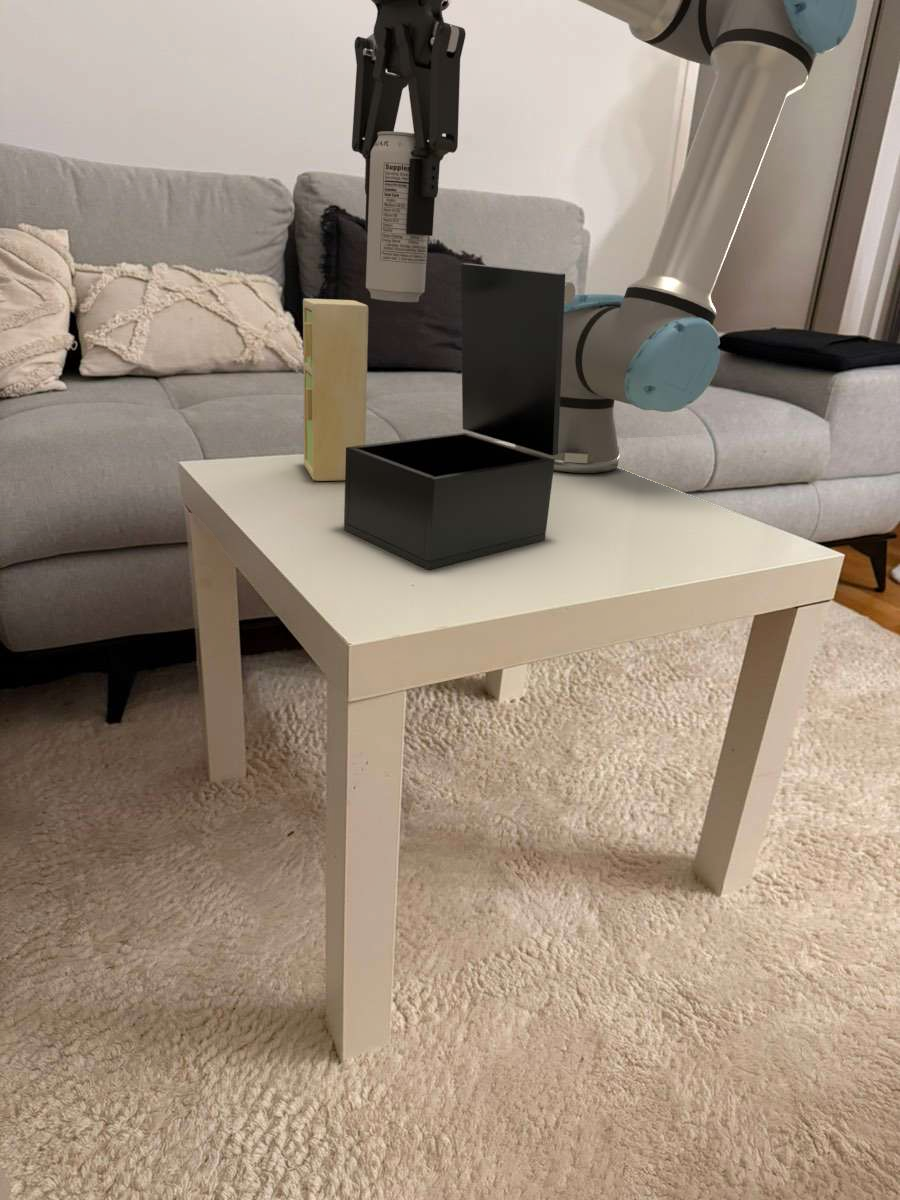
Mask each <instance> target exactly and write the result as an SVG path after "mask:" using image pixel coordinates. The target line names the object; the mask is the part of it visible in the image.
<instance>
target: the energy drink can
mask: <svg viewBox="0 0 900 1200" xmlns="http://www.w3.org/2000/svg"><path fill="white" fill-rule="evenodd" d="M414 149H416V145H415V137H414V132H413V133H412V132H406V131H405V132H404V131H394V132H392V131H382V132H378V139H377V141H376V143H375V145H374V147H373V148H372V150H371V157H370V184H369V212H368V231H367V239H366V241H367V242H366V244H367V245H366V246H367V247H366V270H365V288H366V290H368V292H369V294H370V299H373V300H379V301H387V302H388V301H389V302H398V303H418V302H419V301H420V296H421V295H423V294H424V293H425V290H426V289H425V288H426V273H427V260H428V259H427V258H428V242H429V241H428V240H429V236H426V235H414V234H406V227H407V208H408V188H409V168H410V159H413V158H415V159H420V158H419V157H413V156H412V155H411V153H410V152H411V151H412V150H414Z"/></svg>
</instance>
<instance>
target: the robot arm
mask: <svg viewBox="0 0 900 1200" xmlns="http://www.w3.org/2000/svg"><path fill="white" fill-rule="evenodd" d="M370 1H371V2H372V3H373V4H374V5H375V7H376V10H377V13H376V19H375V23H374V25H373V33H372V34H370V35H368V36H367V37H362V36H356V38H355V39H354V44H353V45H354V55H355V61H356V62H355V63H356V73H355V84H354V85H355V86H354V87H355V88H354V102H353V119H352V136H351V149H352V151H353V152H355V153H359V154H360V155H362V158H364V161H365V168H364V169H365V172H364V193H365V219H364V231H367V232H368V212H369V184H370V157H371V150H372V148H373V147H374V145H375V143H376V141H377V139H378V132H382V131H392V132H395V127H396V122H397V118H398V113H399V108H400V103H401V99H402V94H403V90H404V89H405V88H407V87H408V96H409V103H410V113H411V120H412V128H413V133H414V137H415V145H416V149H414V150H412V151H411V152H410V153H411V155H412V156H413V157H419V158H420V159H415V158H413V159H410V168H409V188H408V208H407V227H406V234H414V235H426V236H428V237H433V235H434V233H433V232H434V219H435V218H434V217H435V204H436V203H435V201H436V198H437V197H438V194H439V183H440V181H439V180H440V168H441V167H440V166H441V161H442V160H443V159H444V157H445V156H446V155H448V154H449V153H452V154H455V152H456V151H457V150H458V146H459V145H458V144H459V116H460V115H459V114H460V111H459V110H460V79H461V57H462V53H463V48H464V45H465V40H466V34H467V33H466V30H465V28H464V27H462V26H459V25H455V24H451V23H448V22H445V20H444V17H443V11H445V10H447V9H448V8H449V7H450V4H451V0H370ZM577 1H579V2H580V3H583V4H585V5H587V6H589V7H591V8H593V9H596V10H597V11H600V12H602V13H605V14H606V15H609V16H611V17H613V18H615V19H617V20H619V21H622V22H624V23H626V24H627V25H628V29H629V31H630V34H631V35H632V36H633V37H634V38H635V39H637V40H639V41H641V42H643V43H646V44H647V45H649V46H652V47H654V48H656V49H659V50H661V51H664V52H665V53H669V54H671V55H672V56H675V57H679V58H681V59H683V60H686V61H689V62H692V63H696V64H699V65H705V66H710V67H712V69H713V72H714V73H715V79H714V82H713V85H712V88H711V91H710V94H709V95H708V96H709V97H708V98H707V101H706V105H705V107H704V110H703V113H702V115H701V118H700V121H699V123H698V126H697V129H696V133H695V135H694V138H693V141H692V143H691V146H690V149H689V152H688V155H687V157H686V160H685V162H684V165H683V168H682V171H681V174H680V177H679V179H678V182H677V184H676V186H675V190H674V193H673V195H672V199H671V201H670V204H669V206H668V210H667V212H666V215H665V218H664V221H663V224H662V226H661V229H660V231H659V234H658V237H657V240H656V242H655V245H654V248H653V251H652V253H651V257H650V259H649V261H648V265H647V268H646V270H645V273H644V275H643V276H642V277H641V278H640V279H638V280H636V281H634V282H632V283H631V284H628V285H627V288H626V290H625V293H624V295H621V294H599V293H598V294H597V293H595V294H593V293H592V294H575V296H574V299H573V300H572V302H570V303H564V320H563V344H562V368H561V392H560V416H559V440H558V454H557V455H554V456H552V455H549V454H545V453H542V452H539V451H535V450H532V449H528V448H525V447H522V446H518V445H515V444H514V448H518V449H521V450H524V451H528V452H531V453H534V454H538V455H541V456H544V457H548V458H551V459H554V460H555V462H554V470H553V471H555V472H564V473H578V474H594V473H595V474H596V473H605V472H610V471H614V470H615V469H616V468H617V467H618V466H619V460H620V447H619V445H618V437H617V430H616V428H617V427H616V422H615V415H614V407H615V401H617V402H621V403H624V404H627V405H631V406H633V407H635V408H638V409H640V410H644V411H656V412H660V413H671V412H677V411H679V410H682V409H684V408H685V407H687V405H691V404H692V403H694V402H695V401H696V400H697V399H699V398H700V397H701V396H702V395H703V394H704V392H705V391H706V390H707V388H708V387H709V385H710V383H711V382H712V380H713V379H714V377H715V375H716V372H717V370H718V366H719V364H720V359H721V350H720V349H719V348H718V347H719V346H720V344H721V340H720V336H719V334H718V331H717V330H716V328H715V327H714V326H713V325H714V322H715V319H716V318H717V311H716V308H715V306H714V304H713V302H712V298H711V297H712V293H713V291H714V288H715V285H716V282H717V280H718V277H719V275H720V272H721V269H722V267H723V264H724V262H725V259H726V257H727V253H728V251H729V248H730V246H731V243H732V241H733V238H734V235H735V233H736V231H737V227H738V225H739V222H740V221H741V217H742V214H743V212H744V209H745V207H746V204H747V201H748V198H749V197H750V194H751V191H752V189H753V185H754V183H755V180H756V178H757V176H758V173H759V170H760V167H761V164H762V162H763V159H764V158H765V154H766V151H767V149H768V147H769V143H770V141H771V140H772V139H771V138H772V136H773V133H774V130H775V127H776V126H777V123H778V121H779V118H780V115H781V112H782V109H783V107H784V104H785V102H786V99H787V97H788V96H789V95H792V94H793V93H795V92H797V91H798V90H800V89H802V88H803V87H804V86H805V84H806V83H807V81H808V78H809V75H810V74H811V70H812V68H813V65H814V63H815V60H816V58H817V56H818V55H824V54H826V53H829V52H830V51H833V50H834V49H835V48H836V47H838V46H839V45H841V44H842V42H843V41H844V40H845V39H846V37H847V35H848V34H849V32H850V30H851V27H852V25H853V21H854V19H855V14H856V10H857V5H858V0H577Z"/></svg>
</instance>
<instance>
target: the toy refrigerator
mask: <svg viewBox="0 0 900 1200" xmlns="http://www.w3.org/2000/svg"><path fill="white" fill-rule="evenodd" d="M302 338H303V341H302V345H303V346H302V348H303V350H302V351H303V352H302V353H303V354H302V355H303V356H302V357H303V359H302V361H303V363H302V365H303V466H304V468H305V469H306V471H307V472H308V474H309V475H310V477H311V479H312V480H313V481H315V482H316V481H317V482H318V481H319V482H320V481H321V482H323V481H324V482H325V481H326V482H327V481H328V482H330V481H345V465H346V447H353V446H361V445H366V438H367V437H366V434H367V433H366V431H367V394H368V393H367V391H368V390H367V389H368V387H367V385H368V350H369V349H368V347H369V346H368V343H369V306H368V305H367V304H365V303H363V302H360V301H357V300H353V299H352V300H351V299H327V298H303V300H302Z"/></svg>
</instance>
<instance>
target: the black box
mask: <svg viewBox="0 0 900 1200" xmlns="http://www.w3.org/2000/svg"><path fill="white" fill-rule="evenodd" d="M554 462H555V460H554V459H551V458H548V457H544V456H541V455H538V454H534V453H531V452H528V451H524V450H521V449H518V448H515V446H511V445H507V444H504V443H501V442H498V441H494V440H491V439H487V438H484V437H480V436H476V435H474V434H470V433H467V432H459V433H451V434H443V435H435V436H427V437H426V436H425V437H419V438H410V439H402V440H395V441H394V440H393V441H387V442H386V441H385V442H379V443H371V444H365V445H361V446H353V447H346V465H345V480H344V507H343V509H344V510H343V514H344V515H343V522H344V523H343V530H344V531H345V532H348V533H350V534H353V535H354V536H355V537H356V536H357V537H358V538H360V539H363V540H365V541H367V542H369V543H371V544H373V545H376V546H377V547H380V548H382V549H383V550H386V551H388V552H390V553H392V554H394V555H396V556H398V557H401V558H403V559H404V560H407V561H409V562H411V563H413V564H415V565H418V566H419V567H421V568H424V569H426V570H428V571H429V570H433V569H437V568H441V567H445V566H448V565H453V564H457V563H461V562H465V561H468V560H472V559H476V558H480V557H484V556H488V555H492V554H495V553H501V552H503V551H507V550H511V549H515V548H519V547H522V546H527V545H531V544H534V543H539V542H542V541H545V540H546V533H547V526H548V518H549V509H550V501H551V493H552V485H553V478H554V471H555V470H554Z"/></svg>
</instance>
